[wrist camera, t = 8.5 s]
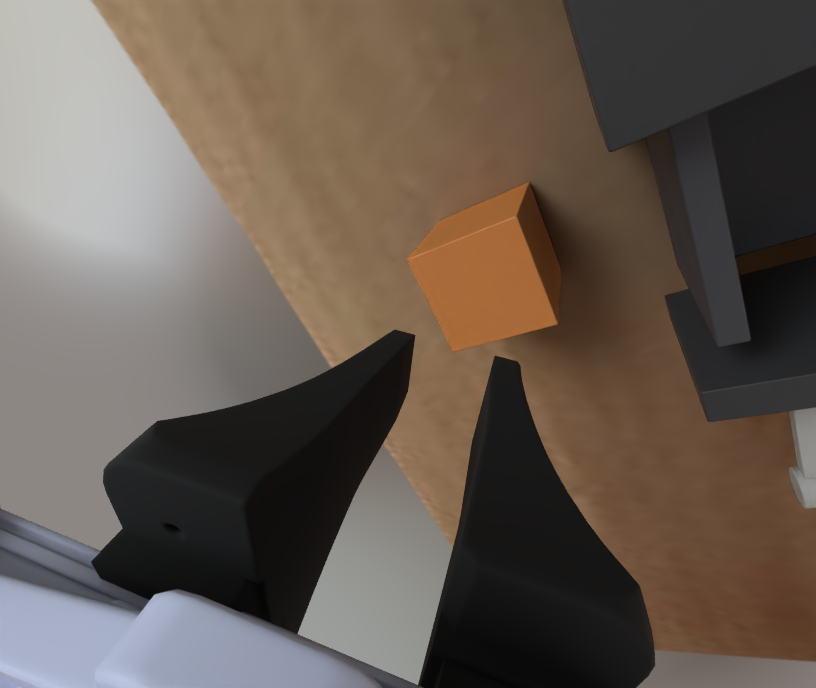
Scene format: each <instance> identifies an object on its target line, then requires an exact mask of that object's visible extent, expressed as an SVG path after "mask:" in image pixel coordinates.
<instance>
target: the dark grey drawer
mask: <svg viewBox="0 0 816 688" xmlns="http://www.w3.org/2000/svg"><path fill="white" fill-rule="evenodd" d="M646 141H647V145H648V149H649V153H650V157H651V161H652V165H653V169H654V173H655V177H656V181H657V185H658V189H659V193H660V197H661V201H662V205H663V209H664V213H665V217H666V221H667V225H668V229H669V233H670V237H671V241H672V245H673V249H674V253H675V257H676V261H677V265H678V267H679V269H680V270H681V273H682V275H683V277H684V279H685V281H686V283H687V285H688V287H689V289H687V290H684V291H680V292H676V293H672V294H669V295H665V300H666V304H667V308H668V311H669V315H670V319H671V321H672V324H673V327H674V330H675V332H676V335H677V338H678V341H679V343H680V346H681V349H682V352H683V354H684V357H685V360H686V363H687V365H688V368H689V371H690V374H691V376H692V379H693V382H694V385H695V388H696V390H697V393H698V396H699V399H700V401H701V404H702V407H703V410H704V412H705V415H706V418H707V420H708V421H709V422H714V421H721V420H728V419H736V418H743V417H751V416H758V415H765V414H773V413H780V412H787V411H789V416H790V422H791V428H792V434H793V440H794V446H795V452H796V458H797V463H798V467H790V468H789V475H790V479H791V482H792V485H793V488H794V491H795V493H796V496H797V498H798V500H799V502H800V504H801V505H802V506H803V507H804V508H816V256H812V257H809V258H805V259H801V260H797V261H793V262H790V263H786V264H782V265H778V266H775V267H771V268H767V269H763V270H759V271H756V272H752V273H748V274H744V275H740V276H739V274H738V269H737V263H736V258H735V257H737V256H740V255H744V254H747V253H751V252H754V251H758V250H761V249H765V248H768V247H772V246H775V245H779V244H783V243H786V242H790V241H793V240H797V239H800V238H804V237H807V236H811V235H814V234H816V66H814V67H811V68H809V69H807V70H804V71H802V72H799V73H797V74H795V75H792V76H790V77H788V78H785V79H783V80H781V81H778V82H776V83H774V84H771V85H769V86H766V87H764V88H762V89H759V90H757V91H755V92H752V93H750V94H748V95H745V96H743V97H741V98H738V99H736V100H734V101H731V102H729V103H726V104H724V105H722V106H719V107H717V108H715V109H712V110H710V111H708V112H705V113H703V114H701V115H698V116H696V117H694V118H691V119H689V120H686V121H684V122H682V123H679V124H677V125H675V126H672V127H670V128H668V129H665V130H663V131H661V132H658V133H656V134H653V135H651V136H649V137H646Z"/></svg>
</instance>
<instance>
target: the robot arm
mask: <svg viewBox="0 0 816 688" xmlns="http://www.w3.org/2000/svg"><path fill="white" fill-rule="evenodd" d="M414 341H415V335H413V334H409V333H406V332H402V331H398V330H393V331H392V332H390V333H388V334H387V335H385V336H384V337H382V338H381V339H379V340H378V341H376V342H375V343H373V344H372V345H370V346H369V347H367V348H365V349H364V350H362V351H361V352H359V353H357V354H356V355H354V356H353V357H351V358H349V359H348V360H346V361H344V362H343V363H341V364H339V365H337V366H335V367H334V368H332V369H330V370H328V371H326V372H324V373H322V374H321V375H319V376H316V377H315V378H312V379H310V380H308V381H306V382H303V383H301V384H299V385H296V386H294V387H291V388H289V389H286V390H284V391H281V392H278V393H275V394H272V395H269V396H266V397H263V398H260V399H257V400H254V401H251V402H248V403H244V404H240V405H236V406H233V407H229V408H225V409H221V410H216V411H212V412H207V413H202V414H197V415H191V416H186V417H179V418H174V419H168V420H161V421H157V422H156V423H155V424H153V425H152V426H151V427H150V428H148V429H147V430H146V431H145V432H144V433H143V434H142V435H140V436H139V437H138V438H137V439H136V440H135V441H133V442H132V443H131V444H130V445H129V446H128V447H127V448H126V449H124V450H123V451H122V452H121V453H120V454H119V455H118V456H116V457H115V458H114V459H113V460H112V461H111V462H109V463H108V465H107V466H106V467H105V469H104V475H103V483H104V487H105V490H106V493H107V495H108V497H109V499H110V502H111V504H112V506H113V508H114V510H115V512H116V514H117V517H118V519H119V520H120V523H121V525H122V527H123V529H122V530H121V531H120V532H119V533H118V534H117V535H116V536H115V537H114V538H113V539H112V540H111V541H110V542H109V543H108V544H107V545H106V546H105V547H104V548H103V549H102V551H99V550H97V549H94V548H92V547H90V546H87V545H85V544H83V543H80V542H78V541H76V540H73V539H71V538H69V537H66V536H64V535H62V534H59V533H57V532H54V531H52V530H50V529H47V528H45V527H43V526H40V525H38V524H35V523H33V522H31V521H28V520H26V519H24V518H21V517H19V516H17V515H14V514H12V513H9V512H7V511H5V510H2V509H0V688H636V687H637V686H638V685H639V684H640V683H641V682H643V681H644V679H646V678H647V677H648V676H649V674H650V672H651V671H652V669H653V668H654V666H655V652H654V642H653V636H652V630H651V626H650V622H649V618H648V614H647V610H646V607H645V603H644V599H643V596H642V592H641V589H640V586H639V584H638V583H637V582H636V581H635V580H634V579H633V578H632V576H631V575H630V574H629V573H628V572H627V571H626V569H625V568H624V567H623V566H622V565H621V564H620V562H619V561H618V560H617V559H616V558H615V557H614V555H613V554H612V553H611V552H610V551H609V550H608V548H607V547H606V546H605V545H604V544H603V542H602V541H601V540H600V538H599V537H598V536H597V534H596V533H595V532H594V530H593V529H592V528H591V526H590V525H589V524H588V522H587V521H586V519H585V518H584V516H583V515H582V513H581V512H580V510H579V509H578V507H577V506H576V504H575V503H574V501H573V500H572V498H571V497H570V495H569V494H568V492H567V490H566V489H565V487H564V485H563V483H562V482H561V480H560V478H559V476H558V475H557V473H556V471H555V469H554V467H553V465H552V463H551V461H550V459H549V457H548V455H547V453H546V451H545V449H544V446H543V444H542V442H541V439H540V437H539V434H538V432H537V429H536V427H535V424H534V421H533V418H532V415H531V412H530V409H529V406H528V403H527V399H526V396H525V391H524V387H523V383H522V377H521V366H520V365H519V363H518V362H517V361H513V360H510V359H506V358H502V357H498V356H495V357H494V361H493V364H492V368H491V372H490V376H489V379H488V383H487V387H486V391H485V395H484V399H483V402H482V406H481V410H480V414H479V418H478V421H477V425H476V429H475V433H474V437H473V440H472V446H471V452H470V458H469V465H468V471H467V478H466V484H465V491H464V497H463V504H462V510H461V516H460V521H459V526H458V531H457V535H456V539H455V542H454V546H453V551H452V554H451V558H450V562H449V566H448V570H447V574H446V578H445V582H444V586H443V590H442V594H441V598H440V602H439V605H438V610H437V613H436V617H435V621H434V625H433V629H432V633H431V637H430V641H429V645H428V649H427V653H426V656H425V660H424V664H423V668H422V672H421V676H420V680H419V684H418V685H416V684H414V683H411V682H409V681H407V680H404V679H402V678H399V677H397V676H395V675H392V674H390V673H388V672H385V671H383V670H380V669H378V668H375V667H373V666H371V665H369V664H366V663H364V662H362V661H359V660H357V659H355V658H352V657H350V656H347V655H345V654H343V653H340V652H338V651H336V650H333V649H331V648H329V647H326V646H324V645H321V644H319V643H317V642H314V641H312V640H310V639H307V638H305V637H303V636H300V635H298V634H297V633H298V631H299V628H300V626H301V623H302V620H303V618H304V615H305V613H306V610H307V608H308V605H309V602H310V600H311V597H312V594H313V592H314V590H315V587H316V585H317V582H318V580H319V577H320V575H321V572H322V570H323V567H324V565H325V562H326V560H327V557H328V555H329V553H330V550H331V548H332V546H333V543H334V540H335V539H336V536H337V534H338V531H339V529H340V527H341V524H342V522H343V520H344V517H345V515H346V513H347V510H348V508H349V506H350V504H351V502H352V499H353V497H354V495H355V493H356V490H357V489H358V487H359V485H360V483H361V481H362V479H363V477H364V475H365V474H366V472H367V470H368V468H369V467H370V465H371V463H372V461H373V460H374V458H375V456H376V454H377V453H378V451H379V449H380V448H381V446H382V444H383V442H384V440H385V439H386V437H387V435H388V433H389V432H390V430H391V428H392V426H393V424H394V423H395V421H396V419H397V417H398V414H399V412H400V409H401V407H402V404H403V402H404V399H405V397H406V394H407V392H408V387H409V379H410V371H411V364H412V356H413V348H414Z"/></svg>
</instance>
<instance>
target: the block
mask: <svg viewBox="0 0 816 688" xmlns="http://www.w3.org/2000/svg"><path fill="white" fill-rule="evenodd" d="M407 260H408V262H409V264H410V266H411V268H412V270H413V272H414V274H415V276H416V278H417V280H418V282H419V284H420V286H421V288H422V290H423V292H424V294H425V296H426V298H427V300H428V302H429V304H430V306H431V308H432V310H433V312H434V314H435V316H436V318H437V320H438V322H439V324H440V326H441V328H442V330H443V332H444V334H445V336H446V338H447V340H448V342H449V344H450V346H451V348H452V350H453V352H455V351H459V350H463V349H467V348H470V347H474V346H478V345H482V344H486V343H489V342H493V341H497V340H501V339H505V338H508V337H512V336H516V335H520V334H524V333H527V332H531V331H535V330H539V329H543V328H546V327H550V326H554V325H557V324H558V320H559V304H560V289H561V273H562V272H561V269H560V266H559V263H558V260H557V258H556V255H555V252H554V249H553V247H552V244H551V241H550V238H549V235H548V233H547V230H546V227H545V224H544V222H543V219H542V216H541V213H540V211H539V208H538V205H537V202H536V199H535V197H534V194H533V191H532V188H531V186H530V183H526V184H523V185H521V186H519V187H516V188H514V189H512V190H509V191H507V192H505V193H502V194H500V195H498V196H495V197H493V198H491V199H489V200H486V201H484V202H482V203H479V204H477V205H475V206H472V207H470V208H468V209H465V210H463V211H461V212H458V213H456V214H454V215H451V216H449V217H447V218H444V219H442V220H440V221H439V222H438V223H437V224H436V225H435V227H434V228H433V229H432V230H431V231H430V233H429V234H428V235H427V236H426V237H425V239H424V240H423V241H422V242H421V243H420V245H419V246H418V247H417V248H416V249H415V251H414V252H413V253H412V254H411V255H410V257H409V258H408V259H407Z"/></svg>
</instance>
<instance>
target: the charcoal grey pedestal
mask: <svg viewBox="0 0 816 688" xmlns="http://www.w3.org/2000/svg"><path fill="white" fill-rule="evenodd" d="M563 3H564V7H565V10H566V14H567V17H568V21H569V24H570V28H571V31H572V35H573V38H574V42H575V45H576V49H577V52H578V56H579V59H580V63H581V66H582V70H583V73H584V77H585V80H586V84H587V87H588V91H589V94H590V98H591V101H592V105H593V108H594V112H595V115H596V118H597V120H598V123H599V126H600V129H601V132H602V135H603V138H604V141H605V144H606V146H607V149H608V151H609V152H613V151H616V150H618V149H621V148H623V147H625V146H628V145H630V144H632V143H635V142H637V141H639V140H642V139H644V138H646V137H649V136H651V135H653V134H656V133H658V132H661V131H663V130H665V129H668V128H670V127H672V126H675V125H677V124H679V123H682V122H684V121H686V120H689V119H691V118H694V117H696V116H698V115H701V114H703V113H705V112H708V111H710V110H712V109H715V108H717V107H719V106H722V105H724V104H726V103H729V102H731V101H734V100H736V99H738V98H741V97H743V96H745V95H748V94H750V93H752V92H755V91H757V90H759V89H762V88H764V87H766V86H769V85H771V84H774V83H776V82H778V81H781V80H783V79H785V78H788V77H790V76H792V75H795V74H797V73H799V72H802V71H804V70H807V69H809V68H811V67H814V66H816V0H563Z"/></svg>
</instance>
